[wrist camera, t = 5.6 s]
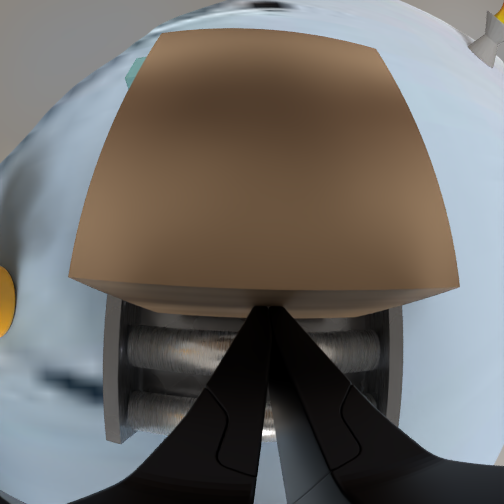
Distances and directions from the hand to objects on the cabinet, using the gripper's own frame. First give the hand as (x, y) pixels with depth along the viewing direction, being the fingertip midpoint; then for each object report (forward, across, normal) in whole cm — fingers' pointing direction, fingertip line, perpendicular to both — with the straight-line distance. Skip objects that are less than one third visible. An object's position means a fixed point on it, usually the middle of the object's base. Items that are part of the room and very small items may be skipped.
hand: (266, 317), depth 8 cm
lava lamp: (+48, -58, -37) cm, 84 cm away
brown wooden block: (+7, 0, -1) cm, 7 cm away
